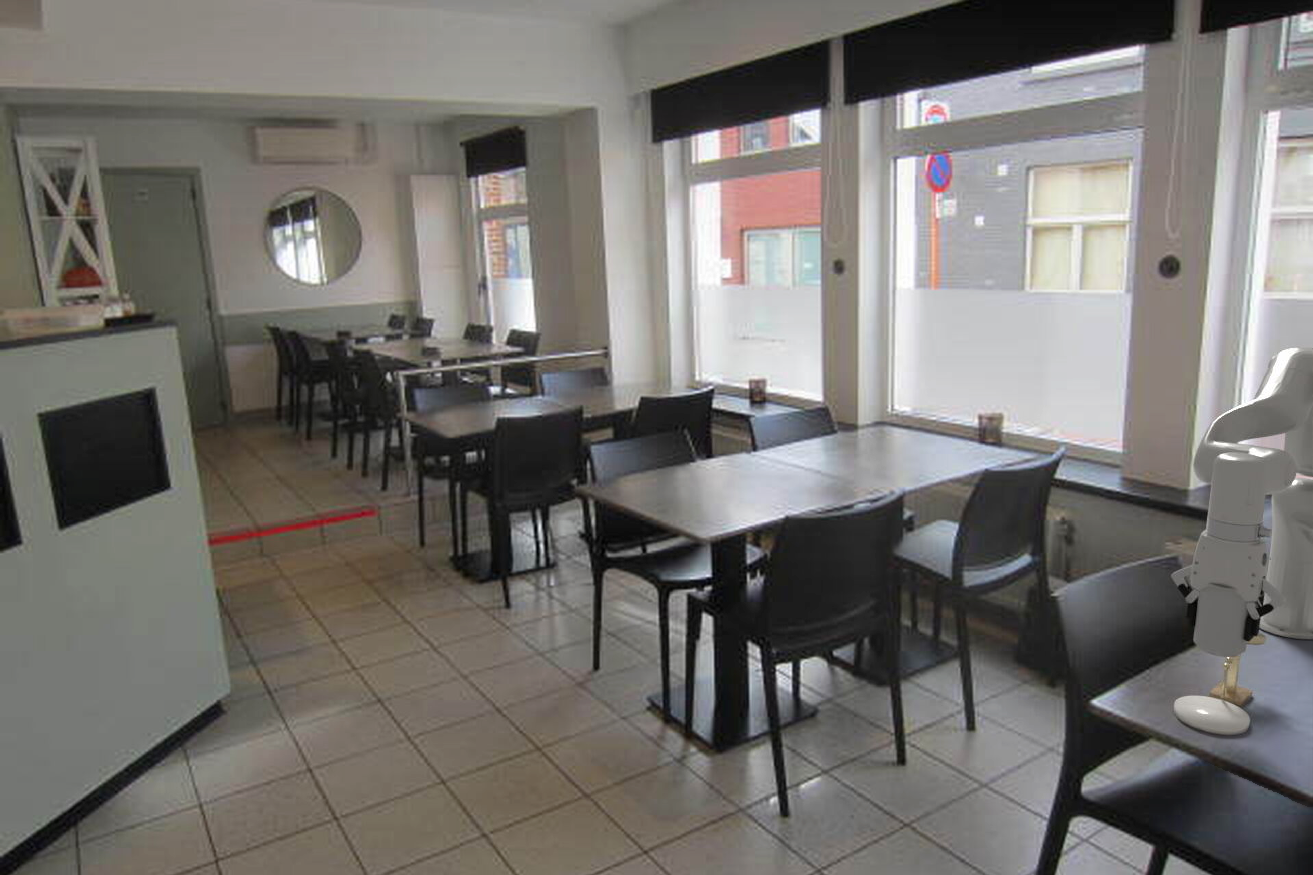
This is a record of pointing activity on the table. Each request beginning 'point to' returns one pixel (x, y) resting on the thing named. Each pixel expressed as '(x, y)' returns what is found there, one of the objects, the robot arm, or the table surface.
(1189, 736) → the table surface
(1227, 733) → the white rounded disc
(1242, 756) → the table surface
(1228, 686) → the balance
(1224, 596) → the can
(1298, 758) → the table surface
